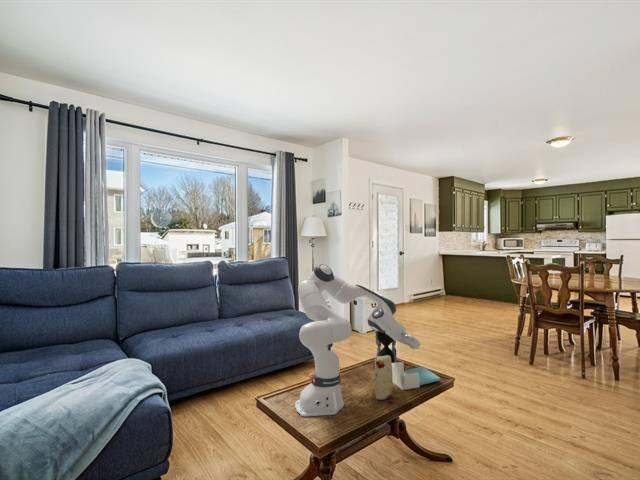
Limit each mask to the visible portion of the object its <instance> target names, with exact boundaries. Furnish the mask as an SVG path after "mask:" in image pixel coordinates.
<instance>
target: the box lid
mask: <svg viewBox="0 0 640 480" xmlns="http://www.w3.org/2000/svg"><path fill="white" fill-rule="evenodd" d="M404 372H405V373H406V374H411V373H417V372H418V373H419V386H423V385H427V384H431V383H434V382H438V381H439V382H440V381H441V377H439V376H438V375H437V374H435V373H433V372H432V371H430V370H429V369H427V368H426V367H424V366H418V367H414V368H409V369H404Z"/></svg>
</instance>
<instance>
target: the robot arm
mask: <svg viewBox="0 0 640 480" xmlns="http://www.w3.org/2000/svg"><path fill="white" fill-rule="evenodd" d="M323 291H326V292H327V293H328V294H329V295H330V296H331V297H332V298H333V299H335V300H336V301H337V302H339V303H341V304H350V303H351V302H354V301H355V300H356V299H358V298H361V297H365V298H367V299H369V300H371V301H373V302H374V303H376V304H377V305H376V306H375V308H374V309H373V311H372V312H371V314H370V315H369V316H368V318H367V324H368V326H369V327H370V328H371V329H372V330H373V331H374V332H375V333H376V332H381V331H386V332H385V333H386V334H387V335H388V336H390V337H391V338H392V339H393V340H395V341H396V342H398V343H401V344H403V345H405V346H407V347H409V348H410V349H412V350H418V349H419V348H420V346H421V342H420V341H419V340H418V339H417V338H416V337H414V336H413V335H411V334H409V333H407V332H406V330H407V329H406V327H405V326H404V325H403V324H401V322H399V321H398V320H396V318H395V317H394V314H395V313H396V312H397V307H396V303H395V302H393V300H391V299H389V298H386V297H384V296H382V295H380V294H378V293H376V292H374V291H372V290H370V289H369V288H367V287H364V286H363V285H359V284H355V285H353V284H350V283H347V282H346V281H345V280H343V279H342V278H340V277H339V276H337V275H335V274H334V272H333V270H332V269H331V268H330V267H329V266H328V265H326V264H318V265H317V266H316V267H314V268H313V270H312V272H311V273H310V274H309V275H308V276H307V278H306V280H303V281H301V282H300V284H299V285H298V286H297V292H298V296H299V300H300V303H301V306H302V308H303V311H304V314H305V315H306V317H307V318H308V319H309V320H312V321H310V322H308V323H305V324H303V325H302V326H301V327H300V329H299V334H298V337H299V341H300V342H301V344H302V345H303V346H304V347H306V348H307V349H308V350H309V351H310V352H311V353H312V357H313V359H314V367H315V369H314V370H315V373H314V374H313V373H309V374H308V378H309V379H310V381H311V382H310V383H308V385H307V386H306V387H304V388H303V389H302V390H301V391H300V394H299V399H298V400H296V401H295V403H294V409H295V408H296V409H295V412H296V413H297V412H298V413H299V414H300V415H299V414H298V413H297V414H298V415H299V416H301V417H315V416H316V417H318V416H319V417H320V416H331V415H332V416H333V415H336V414H337V413H338V412H339V411H340V410H341V409H343V407H344V406H345V402H344V400H343V399H344V398H343V396H342V390H341V386H342V385H341V384H342V378H341V373H340V358H339V356H338V355H337V353H335V352H334V351H332V350H329V347H328V346H329V345H331V344H335V343H336V344H337V343H341V342H343V341H346V340H348V339H350V337H351V335H352V331H353V330H352V329H353V328H352V324H351V323H350V321H349V320H348V319H347V318H345V317H341V316H340V315H338V314H337V313H335V311H333V310H332V309H331V308H330V307H329V306H328V304H327V302H326V300H325V299H324V296H323V294H322V293H323Z"/></svg>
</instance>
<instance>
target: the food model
mask: <svg viewBox="0 0 640 480" xmlns="http://www.w3.org/2000/svg"><path fill="white" fill-rule="evenodd" d="M374 363H375V369H374V372H373V373H374V378H373V379H374V390H375V398H376V399H377V400H387V399H390V398H391V397H392V394H393V393H392V391H393V382H392V379H393V376H392V362H391V357H390V356H389V355H386V356H377V357H376V356H375V358H374Z"/></svg>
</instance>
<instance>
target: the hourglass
mask: <svg viewBox="0 0 640 480" xmlns="http://www.w3.org/2000/svg"><path fill="white" fill-rule="evenodd" d="M385 332H386V331H381V332H376V331H375V345H376V346H377V349H376V350H377V351H376V356H375V358H376V357H377V356H386V355H389V356H390V357H391V362H392V363H397V362H398V361H397V358H398V357H397V349H396V347H395V346H396V344H397V341H395V340H393V339H392V338H391V337H390V336H388V335H387V334H386V333H385ZM382 345H383V347H382V349H381V346H382ZM390 345H391V347H389V346H390ZM372 365H373V367H372V368H373V370H375V362H373V364H372Z"/></svg>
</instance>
